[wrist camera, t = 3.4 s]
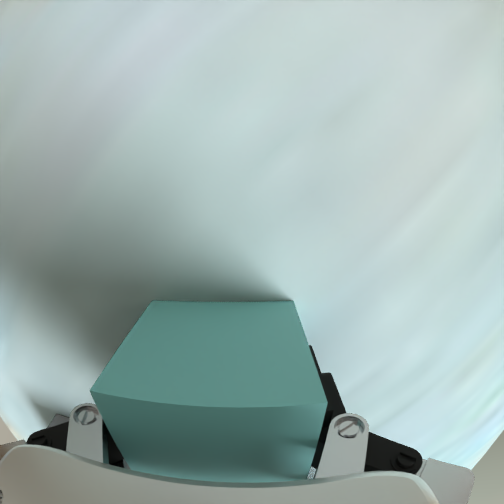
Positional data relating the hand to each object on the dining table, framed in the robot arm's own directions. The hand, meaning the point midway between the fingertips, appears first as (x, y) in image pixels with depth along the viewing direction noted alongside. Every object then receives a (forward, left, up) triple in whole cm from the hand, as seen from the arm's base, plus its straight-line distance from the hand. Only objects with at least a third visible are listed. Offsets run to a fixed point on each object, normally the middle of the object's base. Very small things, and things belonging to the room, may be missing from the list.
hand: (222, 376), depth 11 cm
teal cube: (0, 0, -1) cm, 1 cm away
